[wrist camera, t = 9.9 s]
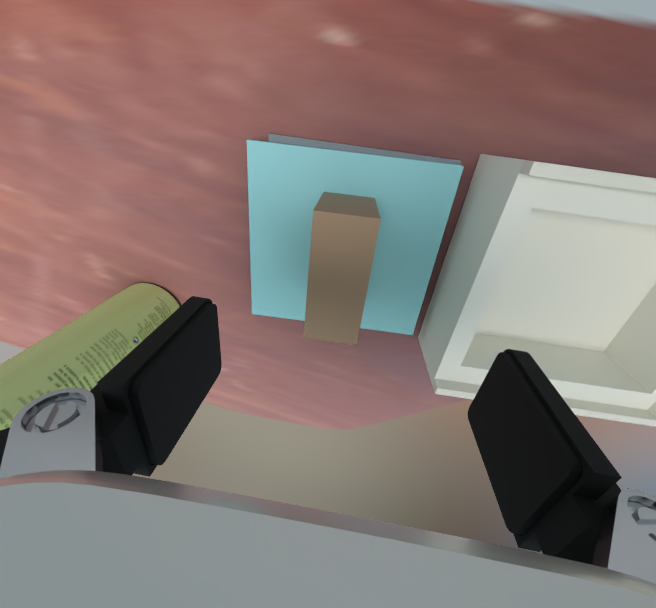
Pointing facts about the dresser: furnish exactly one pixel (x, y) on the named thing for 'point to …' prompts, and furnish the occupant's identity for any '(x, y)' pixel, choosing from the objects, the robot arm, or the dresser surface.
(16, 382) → the tube
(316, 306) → the lid
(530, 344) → the box
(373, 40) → the dresser surface
